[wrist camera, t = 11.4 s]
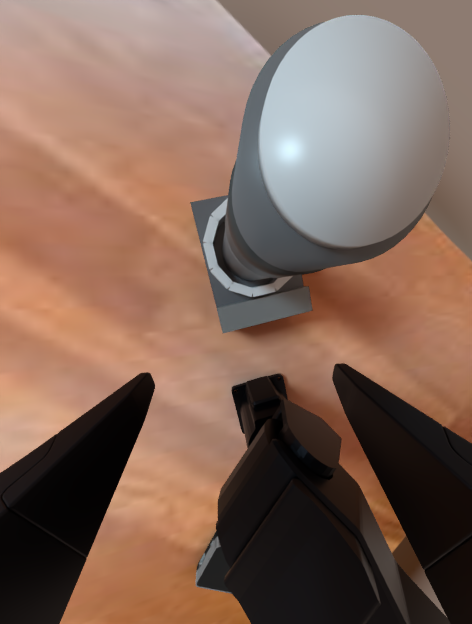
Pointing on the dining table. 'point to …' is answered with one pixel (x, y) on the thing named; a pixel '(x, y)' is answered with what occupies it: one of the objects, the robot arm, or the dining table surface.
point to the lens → (335, 150)
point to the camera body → (235, 291)
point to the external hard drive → (212, 568)
